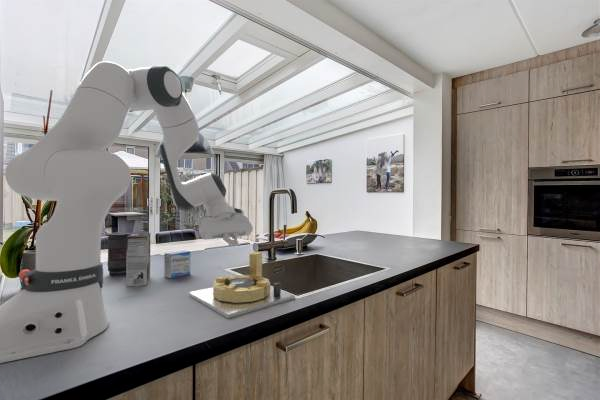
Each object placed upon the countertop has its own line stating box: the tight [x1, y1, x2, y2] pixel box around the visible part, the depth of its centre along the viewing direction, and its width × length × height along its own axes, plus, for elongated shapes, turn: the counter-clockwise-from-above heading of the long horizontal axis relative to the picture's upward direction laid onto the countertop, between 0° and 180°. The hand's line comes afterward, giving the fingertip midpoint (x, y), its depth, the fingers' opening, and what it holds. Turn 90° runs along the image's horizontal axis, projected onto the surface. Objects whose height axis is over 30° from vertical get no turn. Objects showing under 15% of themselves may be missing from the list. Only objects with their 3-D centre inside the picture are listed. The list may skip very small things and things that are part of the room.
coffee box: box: [125, 232, 151, 288], centre depth 102 cm, size 9×6×16 cm
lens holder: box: [212, 251, 271, 303], centre depth 90 cm, size 19×16×10 cm
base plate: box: [188, 279, 296, 319], centre depth 89 cm, size 22×22×4 cm
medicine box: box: [163, 250, 191, 280], centre depth 111 cm, size 8×4×9 cm, turn 143°
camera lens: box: [107, 232, 132, 278], centre depth 112 cm, size 8×8×15 cm
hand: (234, 245), depth 109 cm, fingers closed
